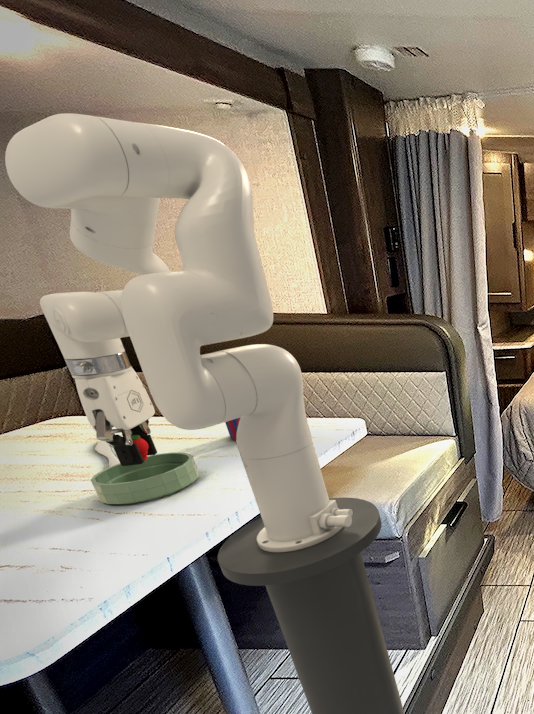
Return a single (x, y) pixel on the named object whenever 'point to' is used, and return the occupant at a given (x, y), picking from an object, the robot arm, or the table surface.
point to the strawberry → (141, 445)
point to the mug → (232, 427)
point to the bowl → (145, 479)
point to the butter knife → (107, 452)
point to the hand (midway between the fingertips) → (139, 458)
